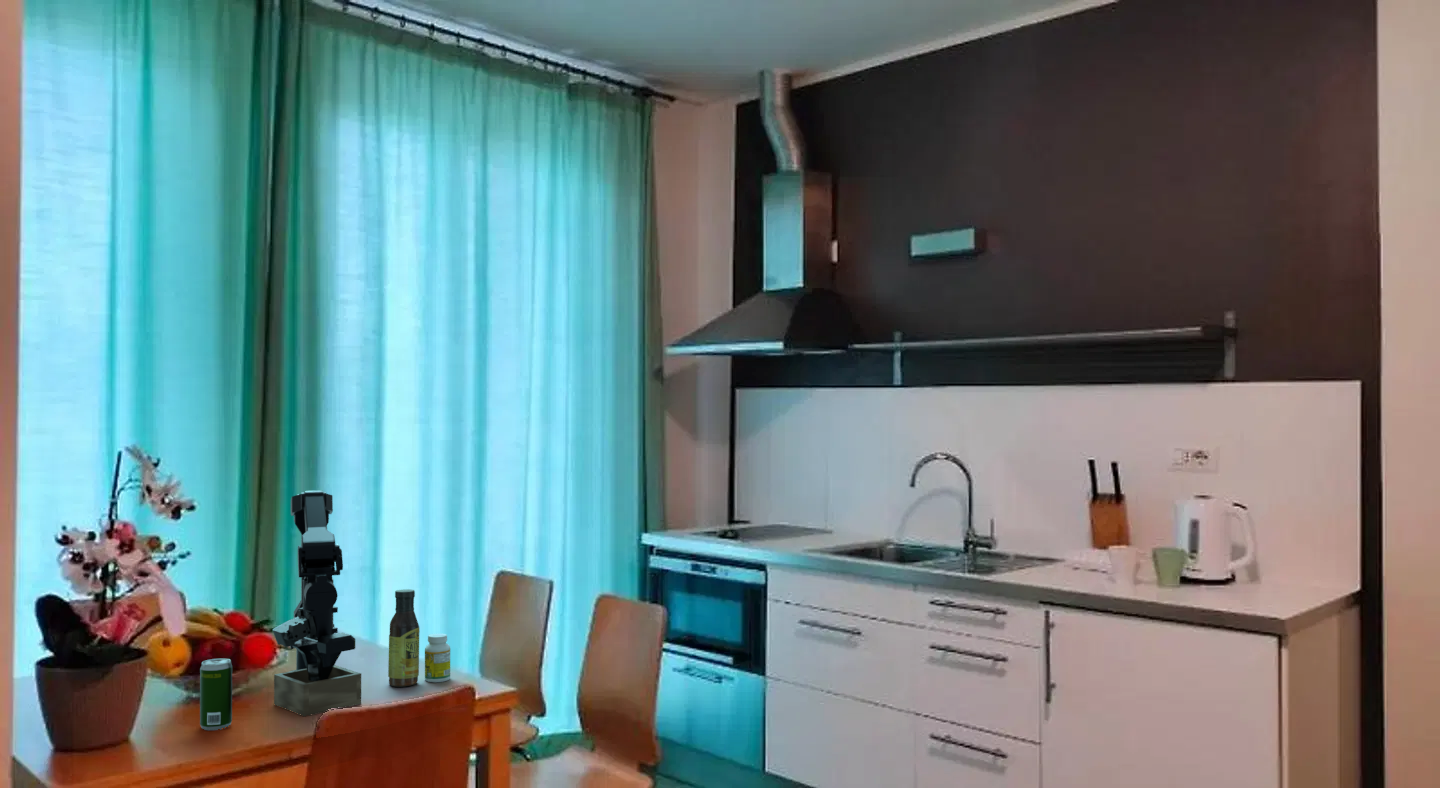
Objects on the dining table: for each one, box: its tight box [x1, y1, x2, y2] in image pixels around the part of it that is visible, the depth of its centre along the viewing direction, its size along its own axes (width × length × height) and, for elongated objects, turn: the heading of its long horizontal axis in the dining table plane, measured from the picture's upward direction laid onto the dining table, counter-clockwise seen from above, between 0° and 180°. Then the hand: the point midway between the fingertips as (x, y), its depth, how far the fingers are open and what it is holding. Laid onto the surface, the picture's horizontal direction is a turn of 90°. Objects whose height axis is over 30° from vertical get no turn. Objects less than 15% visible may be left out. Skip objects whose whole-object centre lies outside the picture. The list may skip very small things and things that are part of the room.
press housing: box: [273, 664, 362, 717], centre depth 218 cm, size 12×12×6 cm
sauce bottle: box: [387, 588, 420, 688], centre depth 234 cm, size 6×6×20 cm
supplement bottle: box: [424, 633, 451, 683], centre depth 238 cm, size 5×5×10 cm
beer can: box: [199, 658, 233, 731], centre depth 203 cm, size 5×5×12 cm
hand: (317, 681), depth 218 cm, fingers closed on plunger, 4 cm apart
